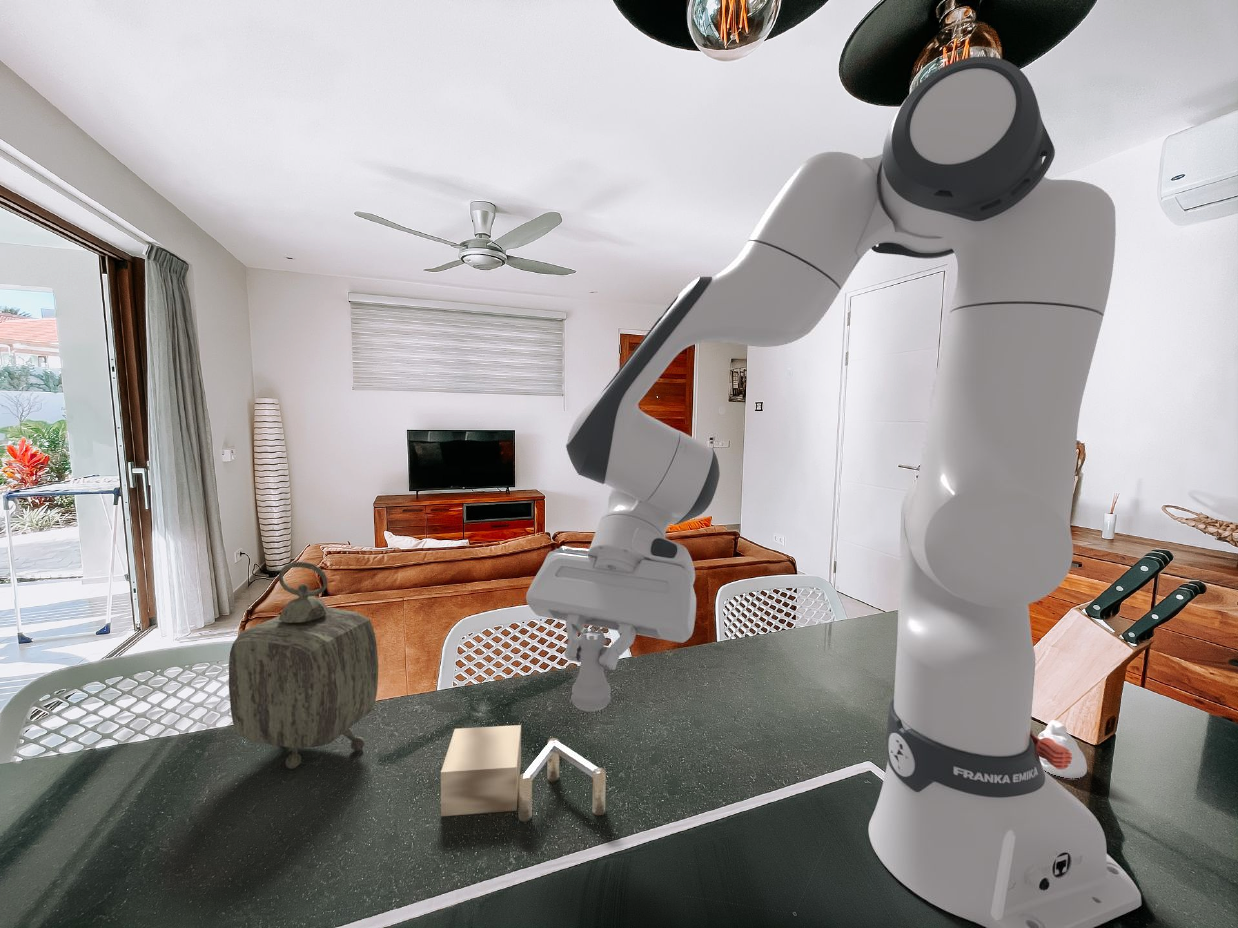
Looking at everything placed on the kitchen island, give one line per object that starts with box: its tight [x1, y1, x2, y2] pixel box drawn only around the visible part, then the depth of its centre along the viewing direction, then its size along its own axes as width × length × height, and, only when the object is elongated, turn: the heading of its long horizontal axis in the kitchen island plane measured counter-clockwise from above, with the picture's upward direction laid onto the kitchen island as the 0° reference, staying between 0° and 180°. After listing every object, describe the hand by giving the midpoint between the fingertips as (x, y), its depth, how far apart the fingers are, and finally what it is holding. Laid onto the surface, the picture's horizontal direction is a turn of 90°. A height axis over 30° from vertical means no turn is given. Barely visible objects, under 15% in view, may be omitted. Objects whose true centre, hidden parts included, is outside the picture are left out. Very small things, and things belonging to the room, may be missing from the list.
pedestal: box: [440, 724, 522, 817], centre depth 60 cm, size 8×8×5 cm
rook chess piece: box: [570, 626, 612, 712], centre depth 57 cm, size 4×4×8 cm
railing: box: [518, 737, 607, 822], centre depth 59 cm, size 9×7×4 cm
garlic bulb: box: [1037, 719, 1088, 780], centre depth 65 cm, size 6×6×5 cm
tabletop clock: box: [228, 561, 379, 770], centre depth 64 cm, size 14×9×25 cm, turn 77°
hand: (589, 662), depth 56 cm, fingers closed on rook chess piece, 3 cm apart
